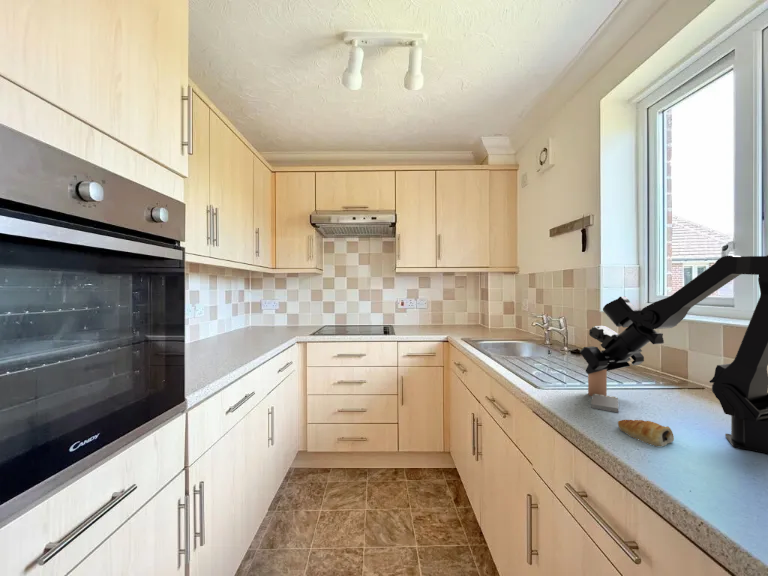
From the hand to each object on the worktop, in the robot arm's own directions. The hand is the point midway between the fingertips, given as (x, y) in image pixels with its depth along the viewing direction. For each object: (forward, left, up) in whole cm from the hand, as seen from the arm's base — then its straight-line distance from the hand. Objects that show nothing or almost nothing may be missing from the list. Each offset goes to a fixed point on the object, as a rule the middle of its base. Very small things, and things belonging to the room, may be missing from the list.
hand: (593, 371), depth 101 cm
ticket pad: (-9, -3, -7) cm, 11 cm away
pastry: (-28, -11, -7) cm, 31 cm away
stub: (-1, -1, -7) cm, 7 cm away
